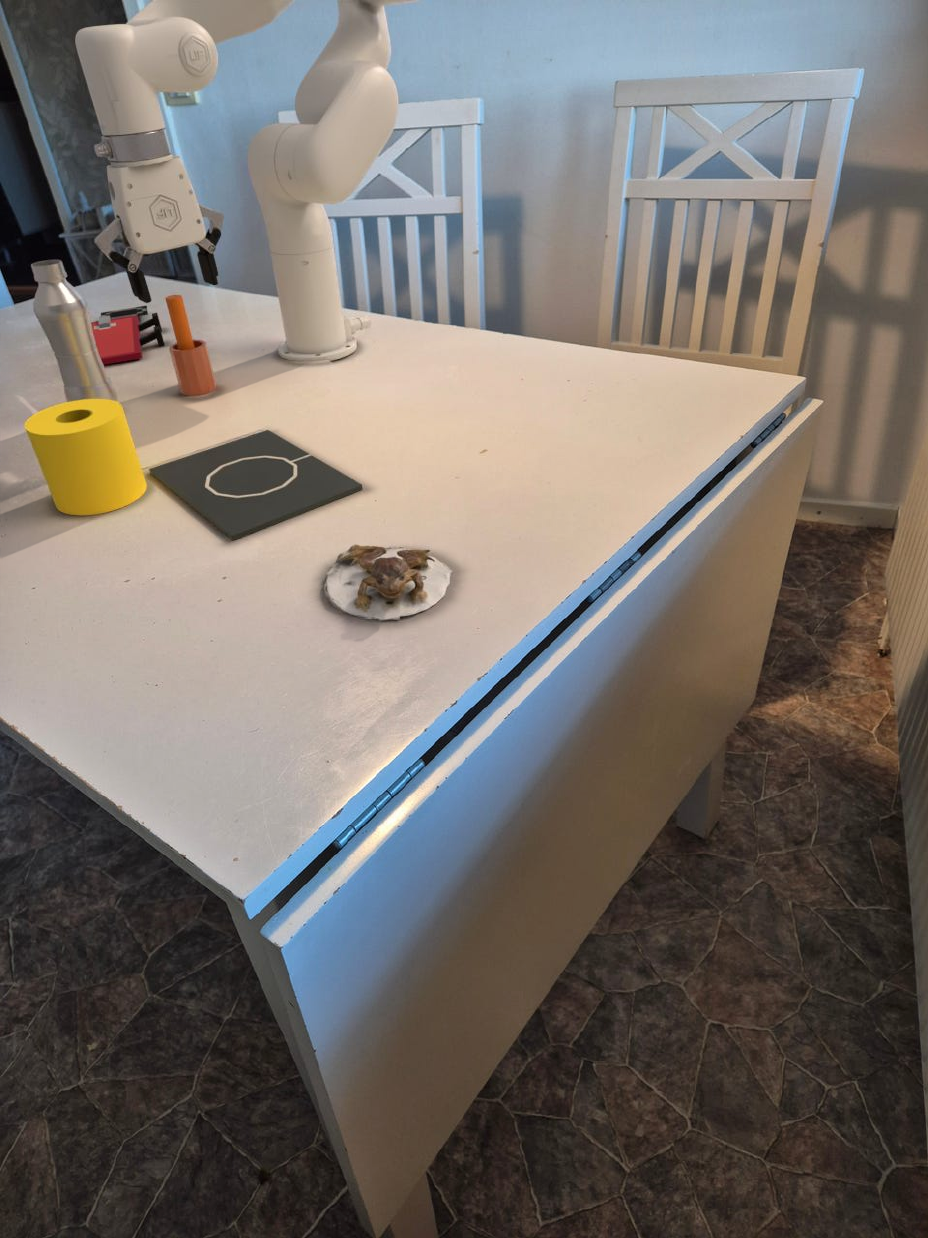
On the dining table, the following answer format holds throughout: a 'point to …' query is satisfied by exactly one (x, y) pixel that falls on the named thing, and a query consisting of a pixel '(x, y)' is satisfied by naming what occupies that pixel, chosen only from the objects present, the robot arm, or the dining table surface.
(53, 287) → the silver bottle
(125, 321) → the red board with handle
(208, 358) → the pen cup
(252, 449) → the slate board
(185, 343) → the marker
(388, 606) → the frog figurine
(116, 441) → the yellow hollow cylinder
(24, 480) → the dining table surface
